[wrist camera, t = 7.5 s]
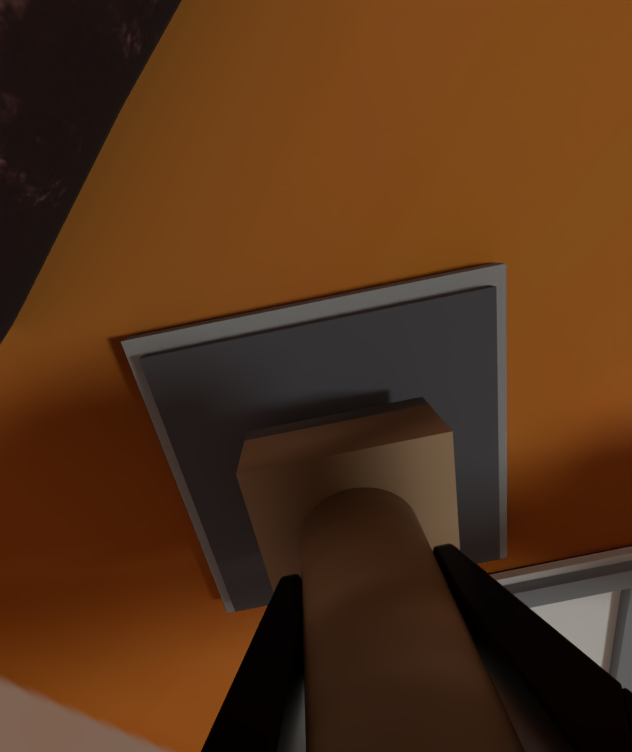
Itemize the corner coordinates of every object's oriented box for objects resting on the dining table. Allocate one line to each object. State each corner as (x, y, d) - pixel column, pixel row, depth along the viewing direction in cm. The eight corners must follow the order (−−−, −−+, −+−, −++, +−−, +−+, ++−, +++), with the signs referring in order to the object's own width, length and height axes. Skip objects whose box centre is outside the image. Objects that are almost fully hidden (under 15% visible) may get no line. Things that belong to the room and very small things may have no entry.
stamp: (422, 396, 10) (673, 685, 3) (435, 534, 12) (618, 903, 5) (246, 431, 10) (159, 786, 3) (285, 564, 12) (276, 969, 5)
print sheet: (653, 541, 15) (670, 555, 14) (618, 735, 20) (629, 752, 19) (322, 607, 15) (323, 624, 14) (368, 785, 20) (370, 803, 19)
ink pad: (494, 262, 11) (514, 264, 10) (498, 545, 14) (513, 566, 13) (129, 336, 11) (113, 344, 10) (229, 598, 14) (225, 623, 13)
